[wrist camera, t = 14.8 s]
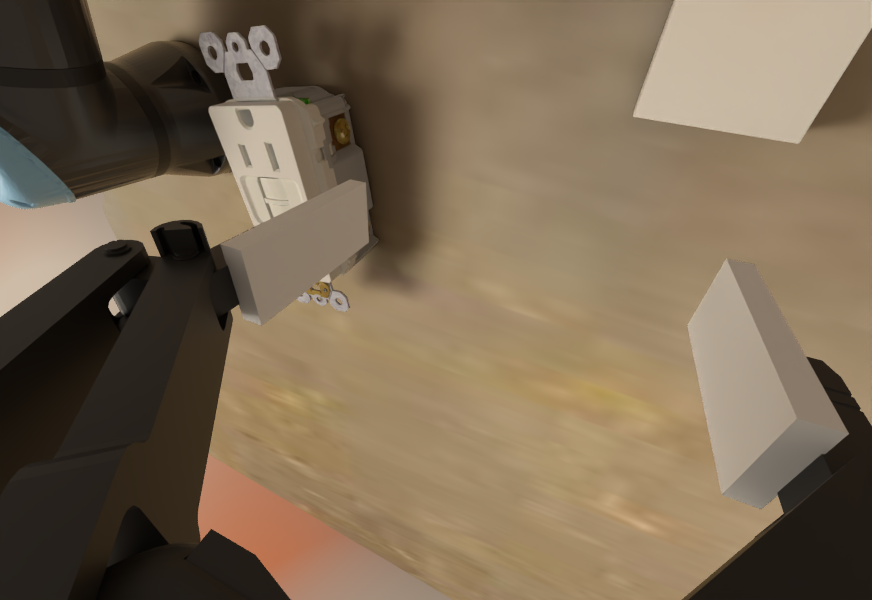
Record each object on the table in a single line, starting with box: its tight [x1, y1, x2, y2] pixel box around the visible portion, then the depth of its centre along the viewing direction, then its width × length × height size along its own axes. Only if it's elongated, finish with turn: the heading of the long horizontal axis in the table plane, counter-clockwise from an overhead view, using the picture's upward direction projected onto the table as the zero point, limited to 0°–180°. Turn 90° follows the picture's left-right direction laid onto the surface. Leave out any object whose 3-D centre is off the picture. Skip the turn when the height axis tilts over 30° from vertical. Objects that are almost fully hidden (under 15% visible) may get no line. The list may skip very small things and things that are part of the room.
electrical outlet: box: [199, 25, 379, 312], centre depth 42 cm, size 12×28×10 cm, turn 3°
